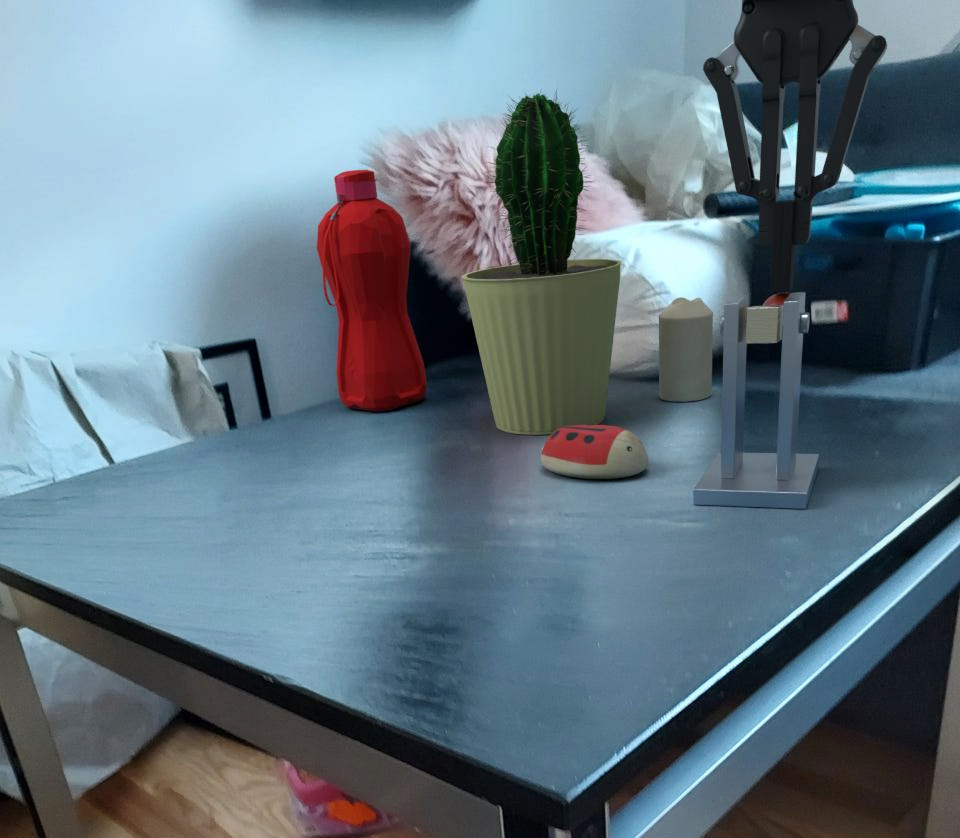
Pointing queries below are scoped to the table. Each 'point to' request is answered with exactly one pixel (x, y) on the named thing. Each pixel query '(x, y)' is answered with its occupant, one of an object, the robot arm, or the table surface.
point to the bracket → (731, 470)
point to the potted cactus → (543, 285)
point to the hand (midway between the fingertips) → (781, 289)
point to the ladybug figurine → (594, 452)
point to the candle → (685, 351)
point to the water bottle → (370, 297)
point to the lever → (766, 320)
